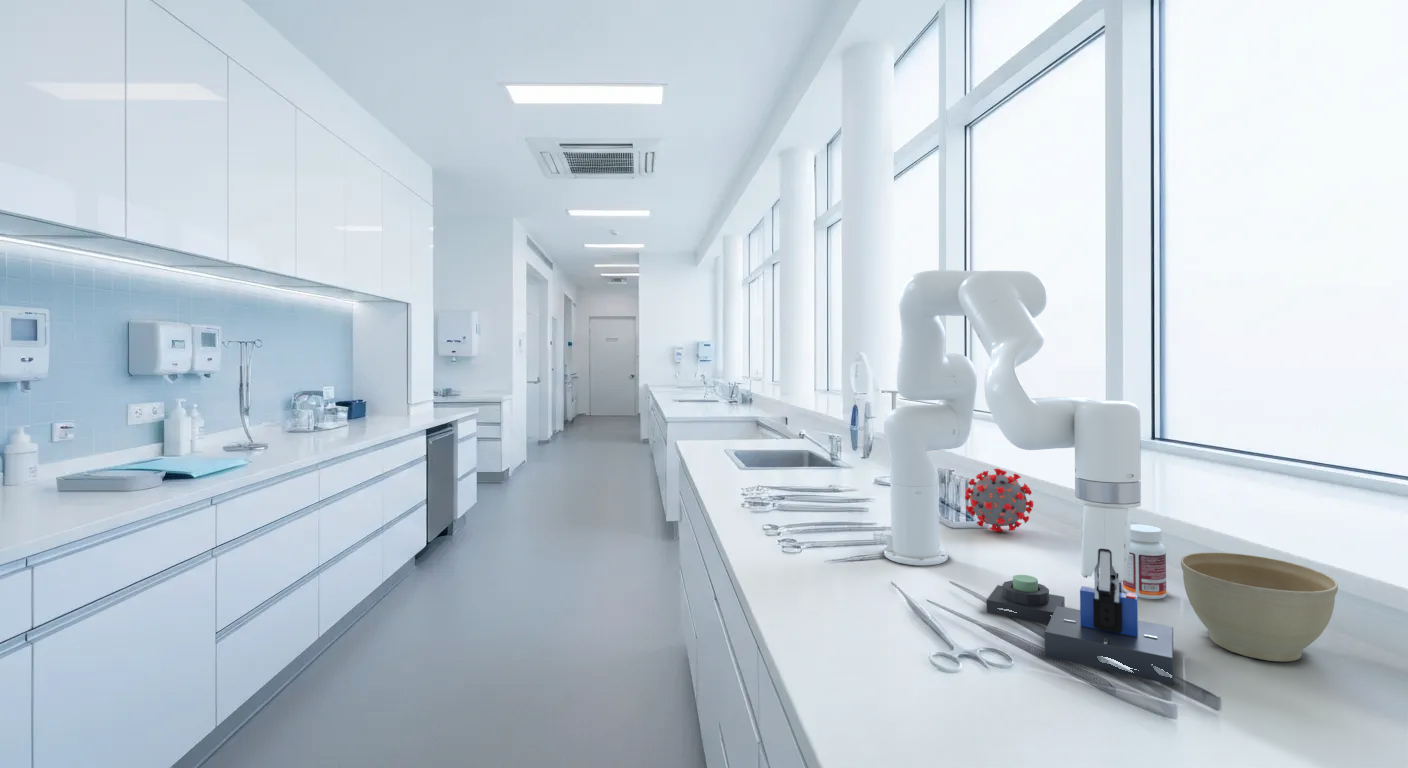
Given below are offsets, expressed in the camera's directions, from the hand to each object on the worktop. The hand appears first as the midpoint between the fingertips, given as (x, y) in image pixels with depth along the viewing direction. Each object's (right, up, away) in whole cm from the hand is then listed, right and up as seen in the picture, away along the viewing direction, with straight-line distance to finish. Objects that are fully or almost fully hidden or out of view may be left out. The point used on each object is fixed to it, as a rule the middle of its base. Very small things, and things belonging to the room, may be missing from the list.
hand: (1108, 624), depth 85 cm
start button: (-4, 0, +15) cm, 16 cm away
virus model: (+14, -2, +62) cm, 64 cm away
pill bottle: (+20, -3, +21) cm, 29 cm away
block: (-3, -4, +15) cm, 16 cm away
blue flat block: (0, -1, 0) cm, 1 cm away
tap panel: (0, -4, 0) cm, 4 cm away
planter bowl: (+21, -4, +1) cm, 21 cm away
